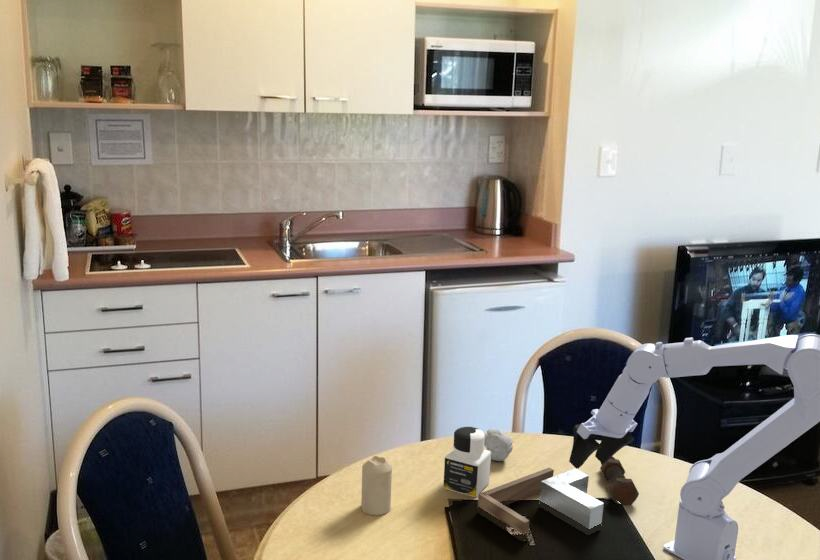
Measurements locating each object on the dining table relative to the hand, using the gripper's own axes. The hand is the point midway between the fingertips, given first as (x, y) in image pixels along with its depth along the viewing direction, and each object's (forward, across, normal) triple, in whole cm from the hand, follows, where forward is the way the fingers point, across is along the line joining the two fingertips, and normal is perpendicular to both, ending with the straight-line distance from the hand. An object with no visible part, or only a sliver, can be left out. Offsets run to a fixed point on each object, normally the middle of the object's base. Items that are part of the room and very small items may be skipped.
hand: (586, 462), depth 141 cm
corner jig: (+14, +3, -2) cm, 14 cm away
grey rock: (+20, -6, -21) cm, 29 cm away
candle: (+24, +27, -18) cm, 40 cm away
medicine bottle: (+20, +7, -16) cm, 26 cm away
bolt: (+10, -18, -1) cm, 20 cm away
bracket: (+11, -3, +3) cm, 12 cm away
